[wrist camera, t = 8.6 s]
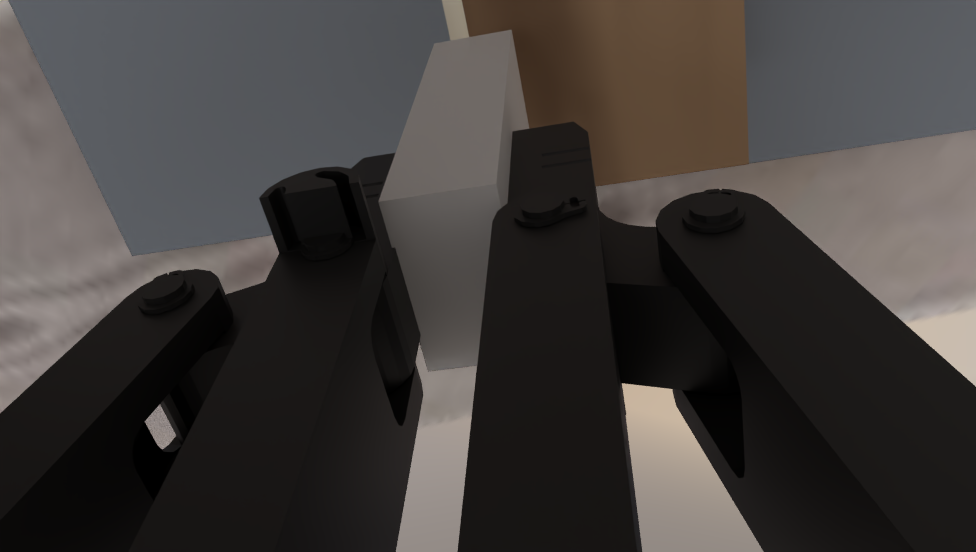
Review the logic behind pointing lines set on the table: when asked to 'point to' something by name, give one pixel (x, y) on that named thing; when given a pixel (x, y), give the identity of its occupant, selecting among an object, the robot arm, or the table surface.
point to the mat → (395, 81)
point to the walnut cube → (629, 77)
